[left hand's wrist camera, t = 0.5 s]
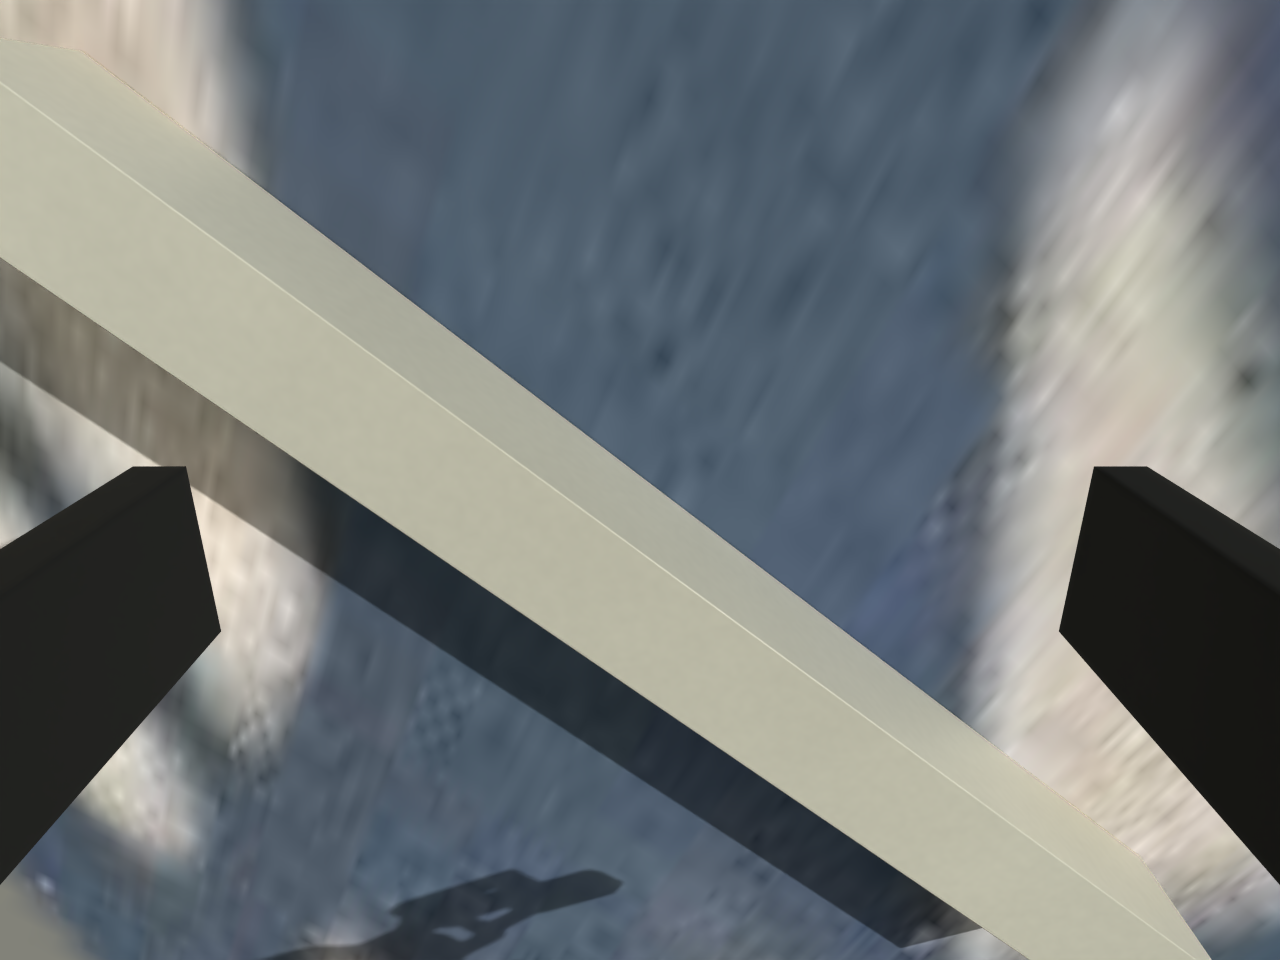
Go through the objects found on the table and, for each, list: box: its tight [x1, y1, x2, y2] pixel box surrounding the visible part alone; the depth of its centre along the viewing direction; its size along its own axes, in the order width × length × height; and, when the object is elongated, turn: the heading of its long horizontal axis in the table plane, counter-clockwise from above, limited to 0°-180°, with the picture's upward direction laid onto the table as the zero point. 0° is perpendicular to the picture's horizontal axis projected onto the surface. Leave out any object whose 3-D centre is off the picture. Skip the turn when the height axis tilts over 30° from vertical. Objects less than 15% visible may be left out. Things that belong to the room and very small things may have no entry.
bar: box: [0, 38, 1211, 960], centre depth 36 cm, size 63×5×8 cm, turn 51°
